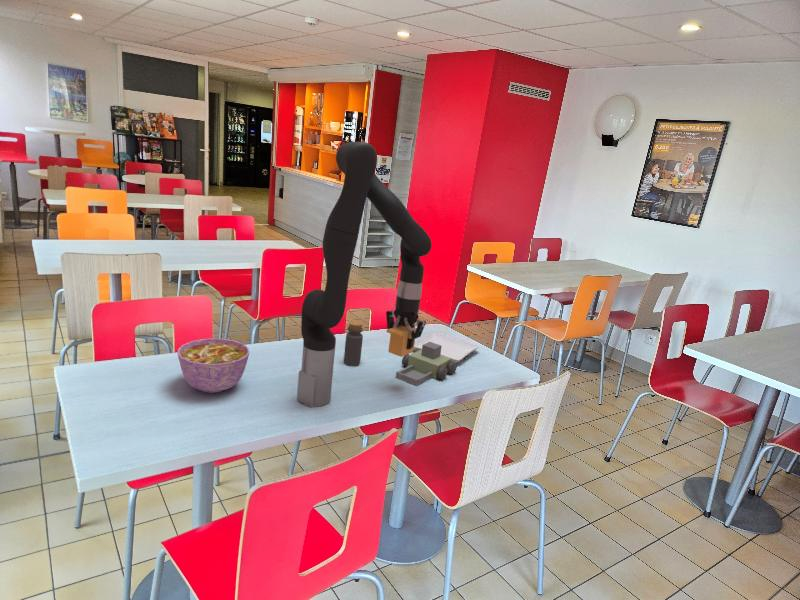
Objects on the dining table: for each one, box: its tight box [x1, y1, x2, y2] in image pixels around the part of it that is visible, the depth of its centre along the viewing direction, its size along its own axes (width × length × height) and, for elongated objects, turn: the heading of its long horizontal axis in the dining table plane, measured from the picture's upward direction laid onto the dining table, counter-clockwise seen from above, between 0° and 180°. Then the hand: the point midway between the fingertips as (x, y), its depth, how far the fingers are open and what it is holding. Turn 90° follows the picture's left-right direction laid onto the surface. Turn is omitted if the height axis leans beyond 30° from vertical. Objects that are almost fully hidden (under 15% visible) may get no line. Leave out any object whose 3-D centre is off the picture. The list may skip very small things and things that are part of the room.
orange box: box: [386, 326, 417, 358], centre depth 168 cm, size 10×5×8 cm, turn 146°
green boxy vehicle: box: [395, 342, 458, 387], centre depth 186 cm, size 20×16×9 cm
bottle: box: [343, 320, 364, 367], centre depth 186 cm, size 6×6×15 cm
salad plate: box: [413, 331, 479, 364], centre depth 209 cm, size 21×21×3 cm
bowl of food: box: [177, 338, 251, 394], centre depth 157 cm, size 20×20×12 cm
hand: (401, 346), depth 170 cm, fingers closed on orange box, 5 cm apart
